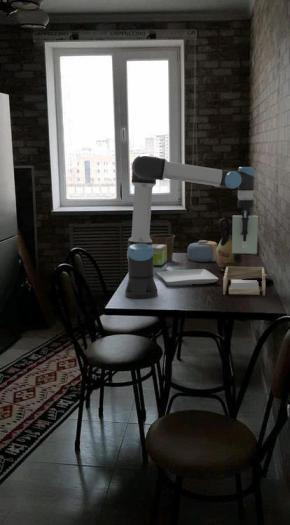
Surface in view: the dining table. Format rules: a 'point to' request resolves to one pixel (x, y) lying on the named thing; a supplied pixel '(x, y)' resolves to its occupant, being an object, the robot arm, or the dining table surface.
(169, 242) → the plant pot
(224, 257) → the ceramic jug
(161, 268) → the tea box
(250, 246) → the tall panel
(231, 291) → the lower offcut
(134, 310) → the dining table surface
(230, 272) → the frame
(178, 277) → the square plate
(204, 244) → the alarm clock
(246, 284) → the upper offcut
